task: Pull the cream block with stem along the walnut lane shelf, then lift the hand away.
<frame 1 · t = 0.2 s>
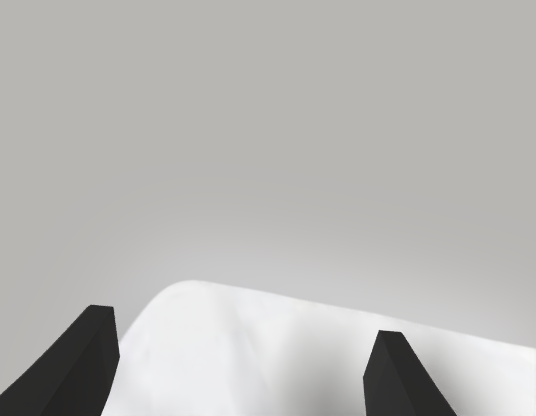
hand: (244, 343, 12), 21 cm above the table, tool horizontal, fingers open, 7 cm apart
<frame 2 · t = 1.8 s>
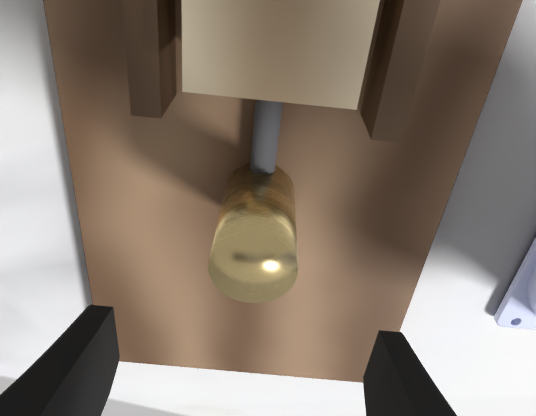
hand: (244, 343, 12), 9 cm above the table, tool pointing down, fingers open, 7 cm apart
walnut lane shelf: (262, 162, 19), on the table
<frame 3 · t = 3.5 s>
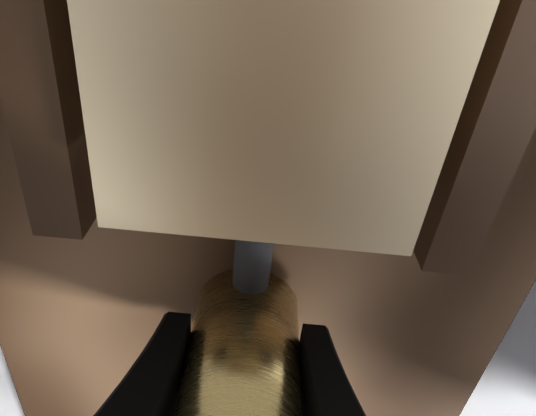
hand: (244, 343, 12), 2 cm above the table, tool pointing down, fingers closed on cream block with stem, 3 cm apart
walnut lane shelf: (252, 259, 14), on the table
cream block with stem: (275, 26, 9), point 1 cm above the table, touching gripper, walnut lane shelf
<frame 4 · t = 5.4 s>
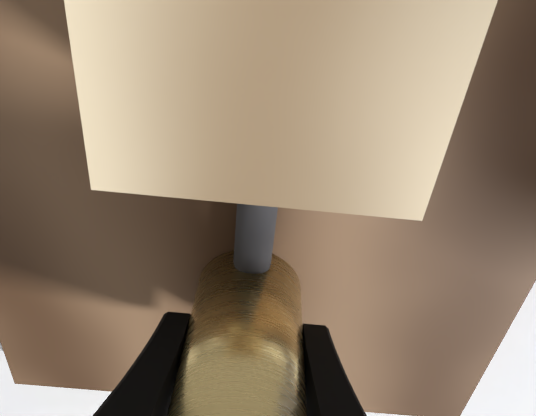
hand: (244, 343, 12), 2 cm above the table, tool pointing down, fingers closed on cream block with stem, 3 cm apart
walnut lane shelf: (276, 6, 10), on the table
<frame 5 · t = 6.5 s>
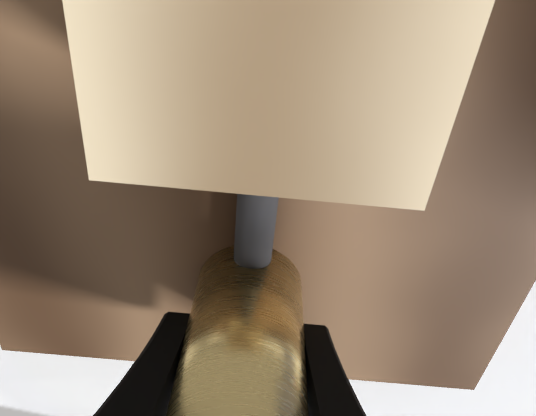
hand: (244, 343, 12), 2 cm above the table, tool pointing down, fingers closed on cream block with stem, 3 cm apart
when the fingers open (2 cm above the table, at t = 7.2 s): cream block with stem stays where it is, resting on walnut lane shelf.
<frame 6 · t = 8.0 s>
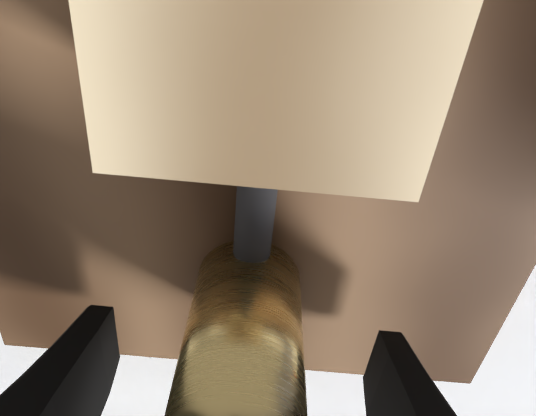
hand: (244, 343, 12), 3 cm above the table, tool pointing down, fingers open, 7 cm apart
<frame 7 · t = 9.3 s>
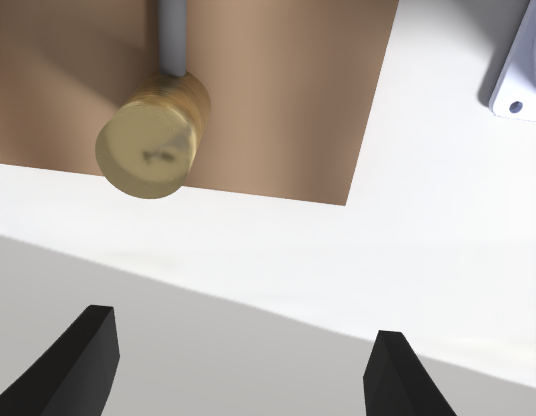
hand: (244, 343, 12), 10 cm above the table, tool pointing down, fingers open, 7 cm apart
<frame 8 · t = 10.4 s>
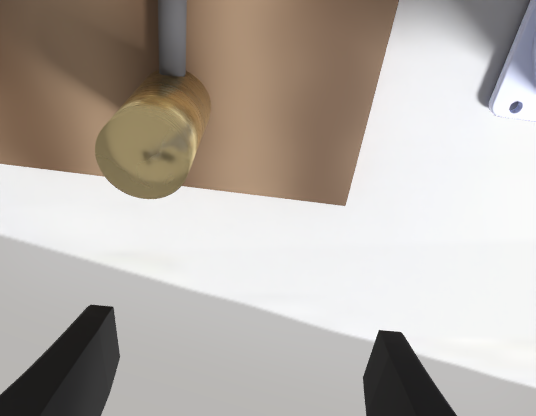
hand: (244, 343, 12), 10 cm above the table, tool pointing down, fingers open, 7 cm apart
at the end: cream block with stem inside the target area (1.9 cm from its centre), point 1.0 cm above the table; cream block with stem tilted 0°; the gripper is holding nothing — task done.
